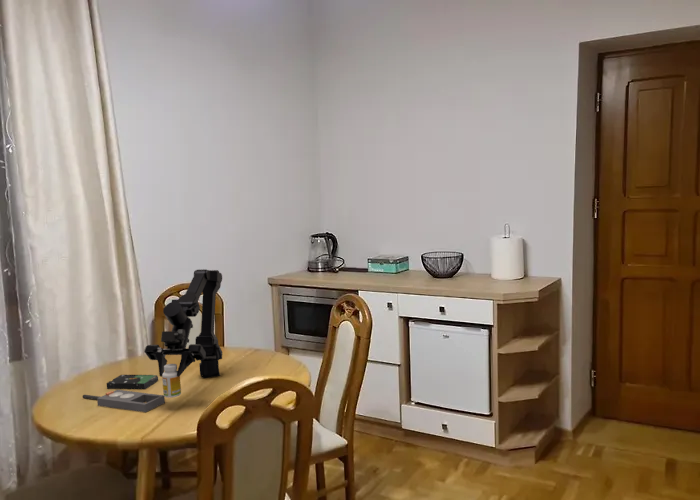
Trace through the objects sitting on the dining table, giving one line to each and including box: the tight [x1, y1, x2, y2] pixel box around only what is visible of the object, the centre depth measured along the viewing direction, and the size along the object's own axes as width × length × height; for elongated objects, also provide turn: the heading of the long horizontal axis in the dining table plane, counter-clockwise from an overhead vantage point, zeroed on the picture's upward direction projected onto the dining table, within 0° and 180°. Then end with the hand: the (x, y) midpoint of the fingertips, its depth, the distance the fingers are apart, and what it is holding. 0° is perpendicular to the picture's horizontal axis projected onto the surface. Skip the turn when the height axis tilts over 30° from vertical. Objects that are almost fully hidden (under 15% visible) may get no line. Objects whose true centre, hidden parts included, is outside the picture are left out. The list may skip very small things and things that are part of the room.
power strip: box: [82, 389, 166, 413], centre depth 209 cm, size 31×9×3 cm, turn 66°
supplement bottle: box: [161, 363, 182, 398], centre depth 201 cm, size 5×5×10 cm
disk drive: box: [106, 374, 159, 390], centre depth 228 cm, size 10×3×15 cm
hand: (169, 376), depth 199 cm, fingers closed on supplement bottle, 5 cm apart
